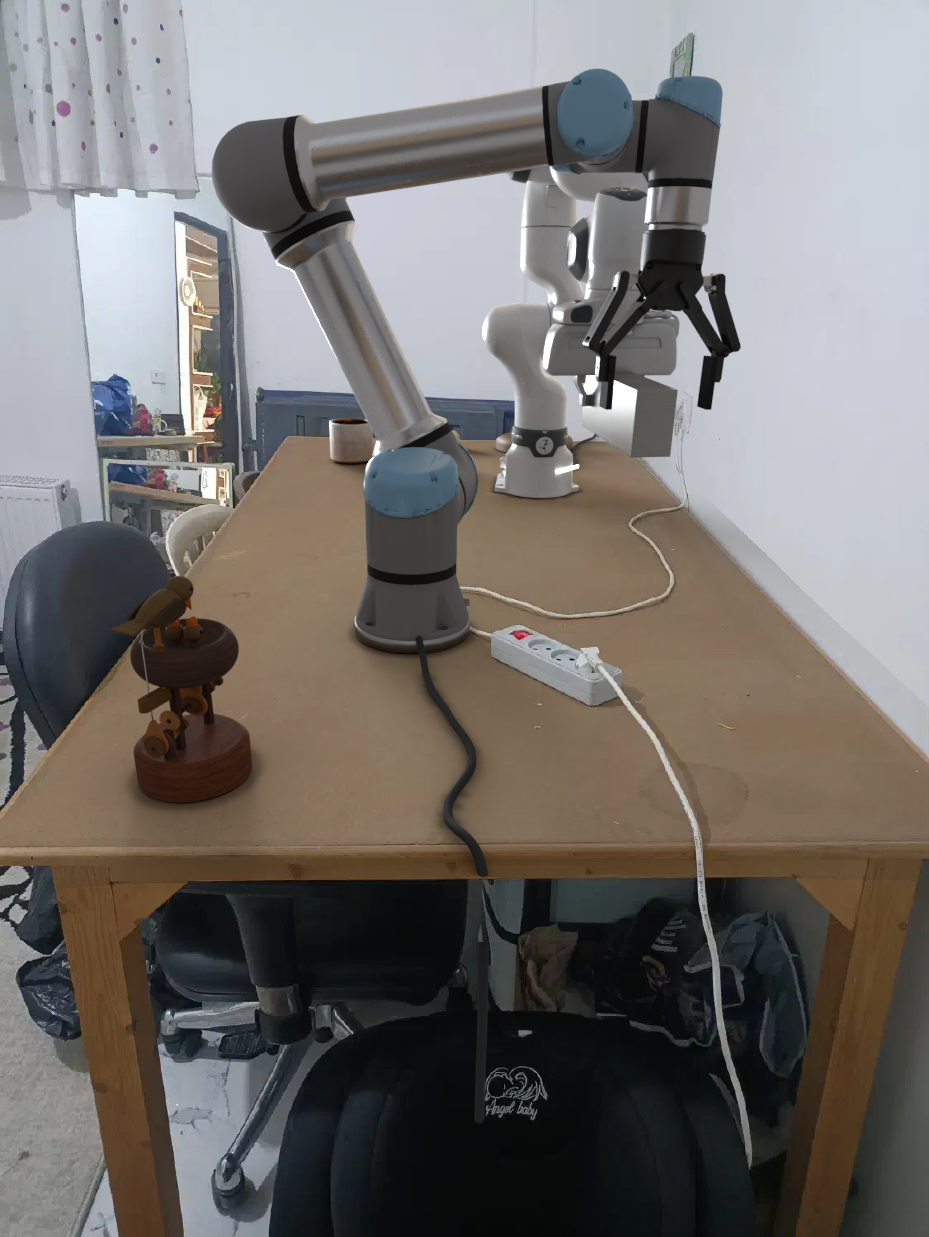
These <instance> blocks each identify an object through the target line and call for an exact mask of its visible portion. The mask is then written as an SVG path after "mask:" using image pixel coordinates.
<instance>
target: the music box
mask: <svg viewBox="0 0 929 1237" xmlns="http://www.w3.org/2000/svg"><path fill="white" fill-rule="evenodd" d="M194 590H195V588H194V583H193V582H192V581H191V579H189V578H188V577H187V576H183V575H175V576H172V577H171V578H170V579H169V580H167V582H166V584H165V588H163V589H159V590H157V591H155V592H152V593H150V594H149V595H147V596H146V597H145V598H143V599H142V600H141V601H140V602H139V603H138V604H137V605H136V606H135V607H134V608H133V609H132V611H130V613H129V614H128V616H127V617H126V620H127V621H125V622H124V623H121V624H119V625H116V626H114V627H112V628H111V632H112V633H116V634H121V635H125V636H130V637H133V638H134V637H136V638H135V640H134V641H133V643H132V644H131V648H130V655H129V656H130V663H131V667H132V668H133V671H134V672H135V673H136V675H137V676H138V677H139V678H140V679H142V680H143V681H144V682H146V687H147V694H145V695H143V696H141V697H139V698H138V699H137V705H138V706H137V707H138V712H139V713H140V714H149V713H150V716H151V720H150V721H149V723H148V725H147V729H146V731H145V733H144V734H143V735H142V736H141V737H140V738H139V739H138V740H137V742H136V743H135V745H134V747H133V751H132V752H133V759H134V760H133V761H134V765H135V772H136V779H137V784H138V787H139V789H140V790H141V791H142V792H143V793H145V794H146V795H147V796H149V797H151V798H152V799H155V800H159V801H164V802H167V803H168V802H169V803H192V802H193V803H194V802H199V801H205V800H208V799H213V798H215V797H218V796H221V795H224V794H226V793H228V792H230V791H232V790H233V789H235V788H237V787H238V786H239V785H241V784H242V783H243V782H244V781H246V779H247V778H248V776H249V775H250V773H251V771H252V768H253V759H252V747H251V736H250V732H249V730H248V728H247V727H246V726H245V725H244V724H242V723H241V722H239V721H237V720H235V719H234V718H232V717H229V716H226V715H223V714H217V713H215V712H214V705H213V704H214V703H213V696H212V693H213V692H214V691H216V686H217V687H220V686H222V685H223V684H224V679H223V677H224V676H225V675H227V674H228V673H229V672H230V671H231V670H232V669H233V667H234V666H235V664H236V662H237V660H238V657H239V653H240V646H239V642H238V639H237V636H236V634H235V633H234V631H233V630H232V629H231V628H230V627H228V626H227V625H226V624H224V623H223V622H221V621H218V620H214V619H209V618H200V617H196V616H194V615H193V616H191V617H189V618H181V617H183V615H185V613H186V611H187V608H188V609H189V610H190V611H192V609H193V608H192V601H191V598H192V596H193V594H194ZM149 684H150V685H152V686H155V687H157V688H155V689H153V690H152V691H150V686H149ZM167 702H169V704H168V705H169V709H168V710H163V711H162V712H161V713H160V715H159V717H158V719H159V723H158V721H157V720H156V719H154V714H153V711H154V710H156V709H157V708H159V707H161V706H163V705H164V704H166V703H167ZM184 713H188V714H185V715H183V714H184Z"/></svg>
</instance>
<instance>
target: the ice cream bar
mask: <svg viewBox="0 0 929 1237" xmlns="http://www.w3.org/2000/svg"><path fill="white" fill-rule="evenodd" d="M511 433H512V431H510V432H506V433H502V434H500V435H498V437H496V440H495V449H497V450H498V451H501V452H503V453H508V450H509V449H510V447H511V445H512V441H511V438H512V435H511ZM566 447H567V449H568V450H569V451H570V452H571V453H572V449H573V447H574V440H573V438H572V437H571V436H570V435H568V437H567V444H566Z"/></svg>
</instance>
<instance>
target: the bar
mask: <svg viewBox="0 0 929 1237" xmlns="http://www.w3.org/2000/svg"><path fill="white" fill-rule="evenodd" d="M583 387H584V389H585V391H586V393H589V394H591V395H592V397H591V406H582V413H581V426H582V427H584V428H585V429H587V430H588V431H590V432H591V433H593V434H596V435H598V436H599V438H601V439H602V440H603V441H605V442H607V443H608V444H610V445H611V446H613V447H614V448H616V449H617V450H619V451H621V452H622V453H623V454H625V455H626V456H628V457H629V458H670V457H671V453H672V445H673V444H672V443H673V434H674V426H675V418H676V409H677V401H678V392H679V390H678V389H676V388H674V387H671V386H669V385H666V384H664V383H662V382H659V381H656V380H653V379H651V378H648V377H646V376H645V377H643V376H641V375H638V374H636V373H633V372H615V378H614V388H613V399H612V410H606V409H604V408H602V407H600V406H599V403H600V392H601V382H599V381H597V380H596V378H595V375H594V376H586V383H583Z"/></svg>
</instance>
